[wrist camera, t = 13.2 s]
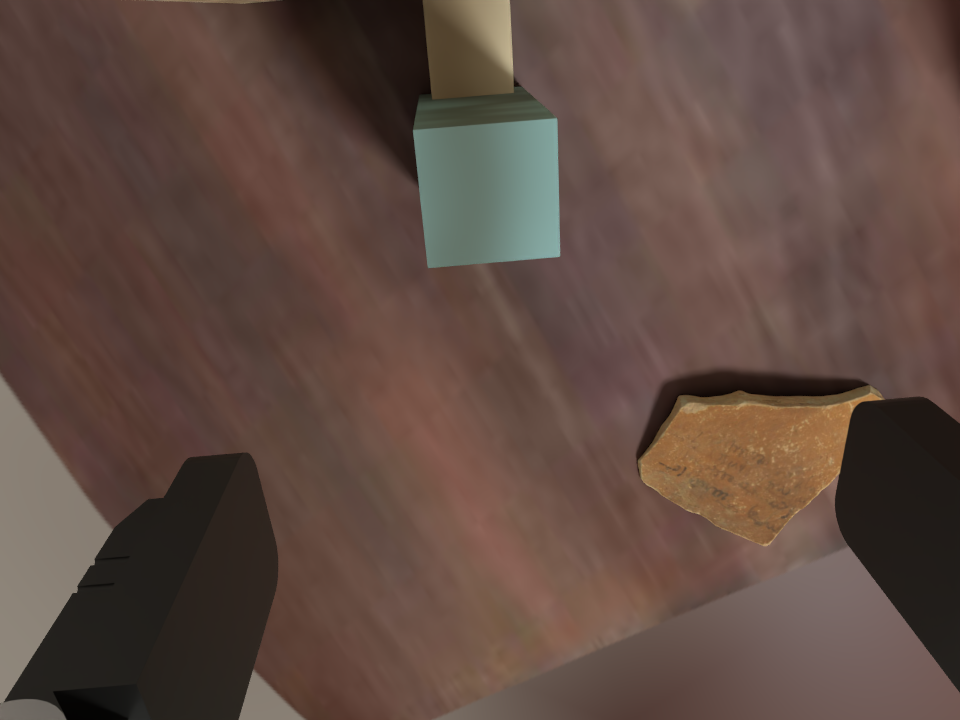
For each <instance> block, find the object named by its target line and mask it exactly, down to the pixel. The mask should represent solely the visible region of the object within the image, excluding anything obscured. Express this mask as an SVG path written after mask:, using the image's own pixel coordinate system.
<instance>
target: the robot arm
mask: <svg viewBox="0 0 960 720" xmlns="http://www.w3.org/2000/svg"><path fill="white" fill-rule="evenodd" d="M835 511H836V517H837V521H838V525H839V528H840V531H841V533H842V535H843V537H844V539H845V541H846V543H847V544H848V546H849V547H850V548H851V549H852V551H853V552H854V553H855V555H856V556H857V557H858V559H859V560H860V561H861V563H862V564H863V565H864V566H865V568H866V569H867V571H868V572H869V573H870V574H871V576H872V577H873V579H874V580H875V581H876V583H877V584H878V585H879V586H880V588H881V589H882V590H883V592H884V593H885V594H886V596H887V597H888V598H889V599H890V601H891V602H892V603H893V605H894V606H895V608H896V609H897V610H898V612H899V613H900V614H901V615H902V617H903V618H904V619H905V621H906V622H907V623H908V625H909V626H910V627H911V629H912V630H913V631H914V633H915V634H916V635H917V636H918V638H919V639H920V641H921V642H922V643H923V644H924V646H925V647H926V649H927V650H928V651H929V652H930V654H931V655H932V656H933V658H934V659H935V660H936V662H937V663H938V664H939V666H940V667H941V668H942V669H943V671H944V672H945V674H946V675H947V676H948V678H949V679H950V680H951V682H952V683H953V684H954V686H955V687H956V688H957V689H958V691H959V692H960V423H958V422H957V421H956V420H955V419H953V418H952V417H951V416H950V415H948V414H947V413H946V412H945V411H943V410H942V409H941V408H940V407H938V406H937V405H936V404H935V403H933V402H932V401H930V400H929V399H927V398H924V397H908V398H897V399H885V400H873V401H864V402H861V403H859V404H858V405H857V406H856V407H855V408H854V410H853V412H852V414H851V418H850V422H849V427H848V433H847V438H846V443H845V448H844V453H843V459H842V464H841V469H840V474H839V480H838V485H837V490H836V496H835ZM277 579H278V553H277V546H276V541H275V537H274V533H273V529H272V525H271V521H270V518H269V514H268V510H267V506H266V502H265V498H264V494H263V490H262V487H261V483H260V479H259V475H258V471H257V467H256V464H255V462H254V460H253V458H252V456H251V455H250V454H249V453H235V454H223V455H212V456H200V457H190V458H188V459H187V460H186V461H185V462H184V464H183V465H182V467H181V469H180V470H179V472H178V474H177V476H176V477H175V479H174V481H173V482H172V484H171V486H170V488H169V489H168V491H167V493H166V495H165V496H164V498H158V499H148V500H147V501H145V502H144V503H143V504H142V505H141V506H140V507H138V508H137V509H136V510H135V511H134V512H132V513H131V514H130V515H129V516H128V517H127V518H125V519H124V520H123V521H122V522H121V523H119V524H118V525H117V526H116V527H115V528H114V529H113V531H112V533H111V534H110V536H109V537H108V539H107V540H106V542H105V544H104V545H103V547H102V548H101V550H100V551H99V553H98V555H97V556H96V558H95V565H93V566H90V567H89V569H88V570H87V572H86V574H85V575H84V577H83V578H82V580H81V581H80V583H79V584H78V586H77V587H78V591H77V593H73V594H72V595H71V597H70V599H69V600H68V602H67V603H66V605H65V606H64V608H63V610H62V611H61V613H60V614H59V616H58V618H57V619H56V621H55V622H54V624H53V625H52V627H51V628H50V630H49V632H48V633H47V635H46V636H45V638H44V639H43V641H42V643H41V644H40V646H39V648H38V649H37V651H36V652H35V654H34V655H33V657H32V658H31V660H30V661H29V663H28V665H27V667H26V668H25V669H24V671H23V672H22V674H21V676H20V677H19V679H18V681H17V682H16V684H15V685H14V687H13V688H12V690H11V691H10V693H9V695H8V696H7V698H6V699H5V701H4V702H3V703H0V720H238V719H239V716H240V713H241V709H242V706H243V702H244V699H245V695H246V692H247V688H248V685H249V681H250V678H251V675H252V671H253V668H254V664H255V661H256V657H257V654H258V650H259V647H260V643H261V640H262V637H263V633H264V630H265V626H266V623H267V619H268V616H269V612H270V609H271V605H272V602H273V599H274V595H275V591H276V586H277Z"/></svg>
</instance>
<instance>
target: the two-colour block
mask: <svg viewBox="0 0 960 720" xmlns="http://www.w3.org/2000/svg"><path fill="white" fill-rule="evenodd" d="M423 9H424V19H425V30H426V40H427V51H428V61H429V72H430V83H431V93H432V94H423V95H419V100H418V106H417V111H416V116H415V122H414V127H413V135H414V145H415V154H416V163H417V172H418V181H419V191H420V200H421V209H422V218H423V227H424V237H425V246H426V255H427V264H428V268H434V267H445V266H457V265H469V264H480V263H492V262H504V261H515V260H527V259H539V258H550V257H560V231H559V181H558V131H557V118H556V117H555V116H554V115H553V114H552V113H551V112H550V111H549V110H547V109H546V108H545V107H544V106H543V105H542V104H541V103H540V102H538V101H537V100H536V99H535V98H534V97H533V96H532V95H531V94H530V93H528V92H527V91H526V90H525V89H524V88H523V87H514V81H513V59H512V38H511V16H510V0H423Z"/></svg>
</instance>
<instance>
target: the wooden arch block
mask: <svg viewBox="0 0 960 720" xmlns="http://www.w3.org/2000/svg"><path fill="white" fill-rule="evenodd" d="M148 1H180V2H211V3H243V4H244V3H256V2H269V1H282V0H148Z"/></svg>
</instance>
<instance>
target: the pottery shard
mask: <svg viewBox="0 0 960 720" xmlns="http://www.w3.org/2000/svg"><path fill="white" fill-rule="evenodd" d="M873 400H885V399H884V398H883V396H882V395H881V394H880V392H879V391H878V390H877V389H875V388H873V387H872V386H870V385H867V386H863V387H859V388H856V389H853V390H851V391H848V392H845V393H841V394H837V395H827V396H765V395H757V394H748V393H745V392H743V391H736V392H733V393H731V394H726V395H722V396H713V397H697V396H691V395H680V396H678V398H677V401H676V404H675V406H674V408H673V410H672V411H671V414H670V415H669V417H668V418H667V419H666V420H665V422H664V423H663V424H662V425H661V427H660V429H659V431H658V433H657V434H656V436H655V438H654V440H653V442H652V443H651V444H650V446H649V447H648V449H647V450H646V451H645V452H644V454H643V455H642V456H641V457H640V458H639V459H638V467H639V473H640V477H641V479H642V480H643V482H644V483H645V484H646V485H648V486H650V487H652V488H654V489H655V490H656V491H658V492H659V493H660V494H661V495H662V496H664V497H666V498H667V499H669V500H670V501H672V502H674V503H676V504H678V505H679V506H681V507H683V508H684V509H685V510H687V511H689V512H692V513H697V514H700V515H702V516H703V517H706V518H707V519H708V520H710V521H711V522H712V523H713V524H714V525H715V526H718V527H720V528H722V529H724V530H727V531H730V532H732V533H734V534H737V535H739V536H741V537H743V538H746V539H748V540H751V541H753V542H755V543H758V544H760V545H762V546H767V545H770V543H771V541H773V540H774V538H775V537H776V536H777V534H778V533H779V532H780V531H781V530H782V528H783V527H784V525H785V524H786V523H787V522H788V521H789V519H791V518H792V517H793V516H794V515H795V514H796V513H797V512H798V511H799V510H800V509H803V508H804V507H805V506H806V505H807V504H809V503H810V501H812V500H813V498H814V497H815V496H817V495H818V494H819V493H820V491H821V490H823V489H824V488H825V487H827V486H828V485H829V484H830V483H831V482H832V481H833V480H834V478H835V477H836V476H837V475H838V474H839V473H840V469H841V464H842V459H843V453H844V448H845V443H846V438H847V433H848V427H849V422H850V418H851V414H852V412H853V410H854V408H855V407H856V406H857V405H858V404H859V403H861V402H864V401H873Z"/></svg>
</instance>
